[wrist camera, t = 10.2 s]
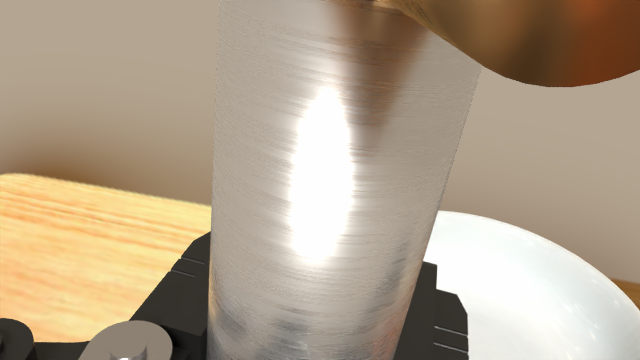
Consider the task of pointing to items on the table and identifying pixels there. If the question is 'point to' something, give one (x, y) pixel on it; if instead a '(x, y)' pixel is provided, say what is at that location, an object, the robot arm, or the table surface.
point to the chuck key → (361, 151)
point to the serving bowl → (529, 294)
